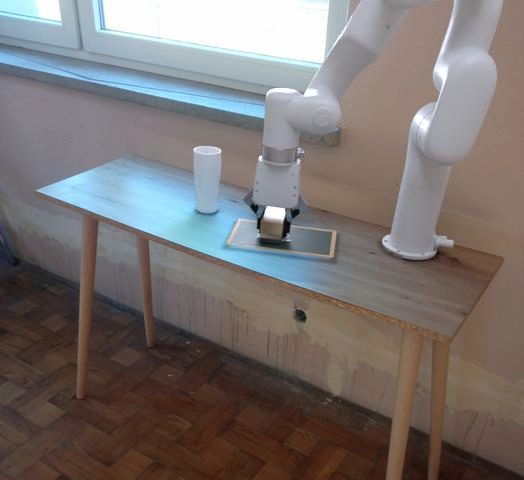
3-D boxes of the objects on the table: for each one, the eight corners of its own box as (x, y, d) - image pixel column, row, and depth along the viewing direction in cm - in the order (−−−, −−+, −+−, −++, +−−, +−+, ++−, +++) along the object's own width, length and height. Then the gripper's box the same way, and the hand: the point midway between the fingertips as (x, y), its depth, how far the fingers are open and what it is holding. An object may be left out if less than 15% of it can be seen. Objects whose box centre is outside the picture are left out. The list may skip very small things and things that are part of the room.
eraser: (285, 227, 132) (288, 207, 129) (280, 245, 124) (282, 223, 121) (265, 225, 133) (267, 204, 130) (259, 242, 124) (260, 221, 122)
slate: (336, 234, 134) (336, 230, 133) (333, 262, 122) (333, 257, 121) (238, 222, 136) (238, 218, 135) (225, 248, 124) (225, 243, 123)
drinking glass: (224, 214, 139) (225, 153, 131) (197, 216, 137) (197, 155, 128) (215, 204, 144) (216, 145, 136) (190, 206, 142) (189, 146, 133)
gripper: (321, 153, 120) (311, 232, 130) (243, 144, 121) (239, 223, 132) (318, 163, 114) (308, 245, 124) (236, 153, 115) (233, 235, 126)
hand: (273, 233), depth 128 cm, fingers closed on eraser, 4 cm apart
